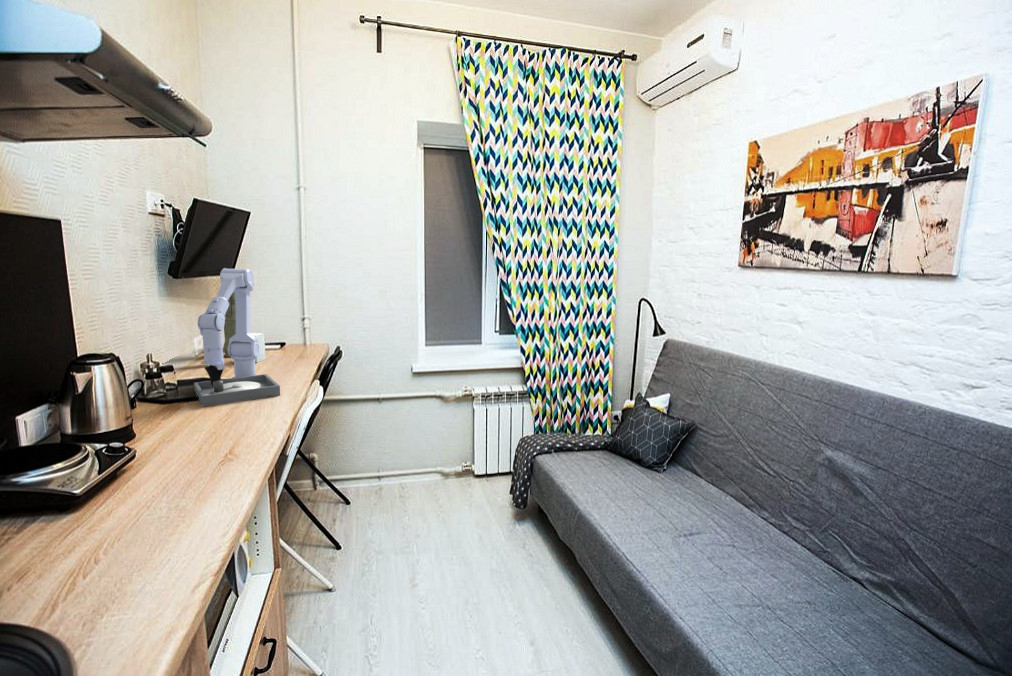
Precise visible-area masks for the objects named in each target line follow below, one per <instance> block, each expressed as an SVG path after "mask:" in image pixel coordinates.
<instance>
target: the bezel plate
mask: <svg viewBox="0 0 1012 676" xmlns="http://www.w3.org/2000/svg"><path fill="white" fill-rule="evenodd" d="M221 380H223V384H226V383H232V382H243V381H248V382H257V383H259V384H260V388H254V389H247V390H239V391H232V392H225V393H217V394H213V386H212V384H211V381H210V380H206V381H200V382H199V381H198V382H193V385H194V386H193V387H194V392H195V391H196V393H197V395H198V397H199V399H198V401H199V402H200V404H201V406H202V407H209V406H215V405H223V404H229V403H236V402H243V401H244V402H245V401H248V400H256V399H263V397H264V398H269V396H271V397H276V395H278V396H281V386H280V384H278V383H277V382H276V381H275V380H274V379H273V378H272V377H270V376H269V374H267V373H264V374H256V375H254V376H246V377H238V378H232V377H230V378H222V379H221ZM196 393H195V394H196ZM197 395H196V396H197ZM198 397H197V398H198Z"/></svg>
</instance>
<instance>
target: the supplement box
mask: <svg viewBox="0 0 1012 676" xmlns="http://www.w3.org/2000/svg"><path fill="white" fill-rule="evenodd" d="M250 334H252V335H253V336H255V337H256V338H257V339H258V345H259V354H258V356H257V357H256V358H255V364H256V363H260V362H262V361H266V360H267V359H266V358H267V357H266V356H267V355H266V342H265V333H260V332H259V333H258V332H250ZM241 342H249V341H241Z"/></svg>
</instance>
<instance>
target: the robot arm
mask: <svg viewBox="0 0 1012 676" xmlns="http://www.w3.org/2000/svg"><path fill="white" fill-rule="evenodd" d="M219 273H220V275H219V277H220V279H219V280H220V282H221V284H220V287H219V289H218V292H217V296H214V297H212V298H211V300H210V302H209V304H208V306H207V308H206V310H205V312H204V313H202V314H200V315H199V316H198V319H197V328H198V329H199V333H200V335H201V336H202V347H203V348H202V349H203V359H204V360H203V361H200V365H206V366H204V370H205V371H206V373H207V375H208V377H209V381H211V384H212V386H213V381H217V380H221V378H222V374H223V372H224V370H226V367H225V359H224V344H223V333H222V330H224V324H225V314H226V311H227V309H228V307H229V302H228V299H229V298H230V296H231V294H232V293H233V291H234V293H235V294H236V334H235V335H234V336H232V337H231V338H230V339H229V345H228V354H229V356H230V357H229V358H231V359H232V360H233V370H234V371H233V372H234V376H232V377H231V378H238V377H246V376H254V375H257V373H256V363H255V358H256V357H257V356H258V354H259V345H258V339H257V338H256V337H255V336H253V335H252V334H250V333H251V292H252V291H254V284H255V283H254V278H255V277H254V273H253V271H252V270H251V269H250V268H227V267H224V268H222V269H221V271H220V272H219ZM237 341H249V342H237ZM207 365H210V366H207Z"/></svg>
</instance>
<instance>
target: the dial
mask: <svg viewBox="0 0 1012 676" xmlns="http://www.w3.org/2000/svg"><path fill="white" fill-rule="evenodd" d="M254 388H260V384H259V383H257V382H248V381H243V382H232V383H226V384H223V380H217V381H213V394H217V393H225V392H232V391H239V390H247V389H254Z"/></svg>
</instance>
